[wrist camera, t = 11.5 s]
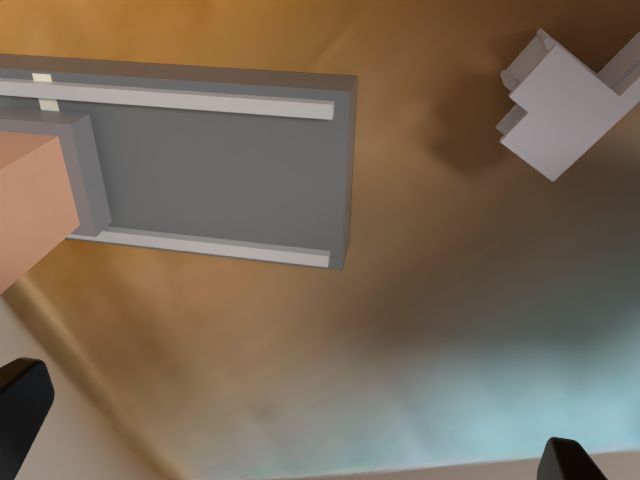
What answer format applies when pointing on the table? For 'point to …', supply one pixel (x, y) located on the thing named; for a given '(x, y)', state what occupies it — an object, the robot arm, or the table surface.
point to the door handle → (565, 102)
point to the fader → (46, 186)
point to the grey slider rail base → (209, 153)
